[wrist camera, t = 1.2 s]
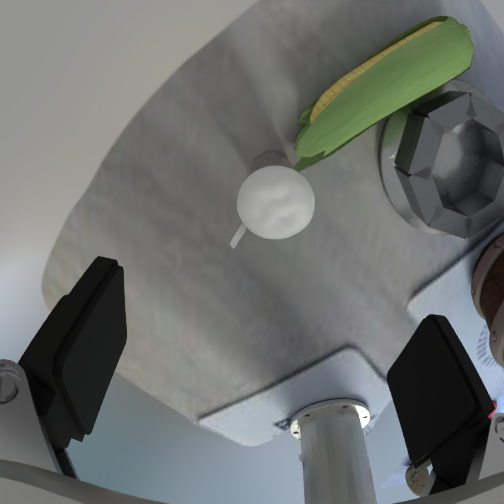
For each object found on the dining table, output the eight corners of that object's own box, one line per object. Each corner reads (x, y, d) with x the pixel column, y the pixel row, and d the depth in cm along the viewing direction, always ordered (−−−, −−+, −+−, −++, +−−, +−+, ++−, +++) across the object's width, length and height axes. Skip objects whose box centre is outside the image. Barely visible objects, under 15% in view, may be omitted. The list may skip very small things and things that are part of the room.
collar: (473, 245, 28) (491, 262, 25) (357, 211, 27) (370, 229, 23) (517, 118, 21) (541, 125, 17) (402, 51, 20) (423, 47, 16)
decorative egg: (398, 468, 58) (405, 501, 49) (416, 458, 55) (424, 491, 47) (411, 468, 59) (419, 499, 50) (429, 458, 56) (437, 490, 48)
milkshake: (224, 169, 25) (204, 215, 17) (278, 132, 24) (290, 158, 15) (256, 211, 27) (254, 275, 18) (309, 177, 26) (335, 227, 17)
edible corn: (494, 64, 15) (477, 14, 13) (303, 194, 22) (265, 150, 20) (456, 49, 19) (437, 6, 16) (287, 162, 26) (254, 124, 23)
